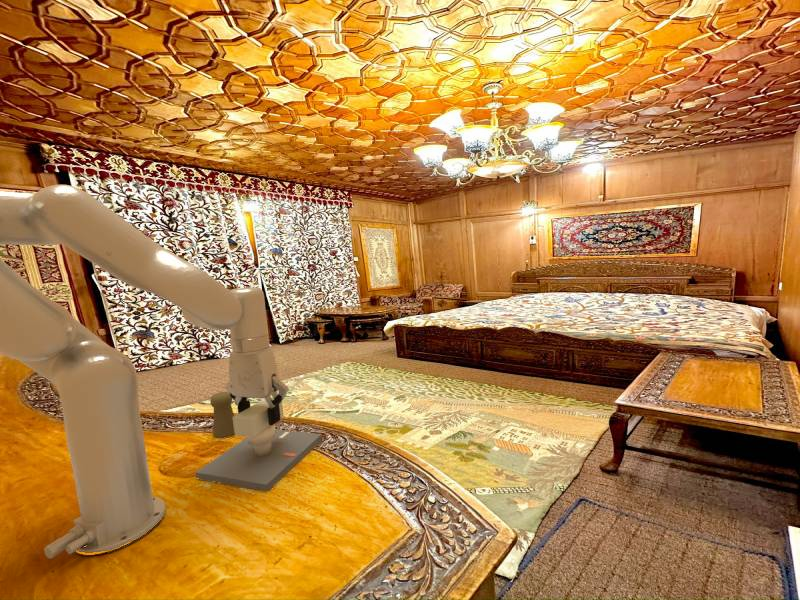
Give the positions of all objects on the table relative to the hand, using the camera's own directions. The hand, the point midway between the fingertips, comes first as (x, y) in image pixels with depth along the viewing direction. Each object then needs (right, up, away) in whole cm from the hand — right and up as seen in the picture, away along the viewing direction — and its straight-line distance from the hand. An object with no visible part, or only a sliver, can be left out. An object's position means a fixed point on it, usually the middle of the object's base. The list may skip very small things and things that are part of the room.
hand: (260, 420), depth 80 cm
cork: (-15, -8, +15) cm, 23 cm away
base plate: (+1, -9, +1) cm, 9 cm away
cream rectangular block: (0, -4, +1) cm, 4 cm away
